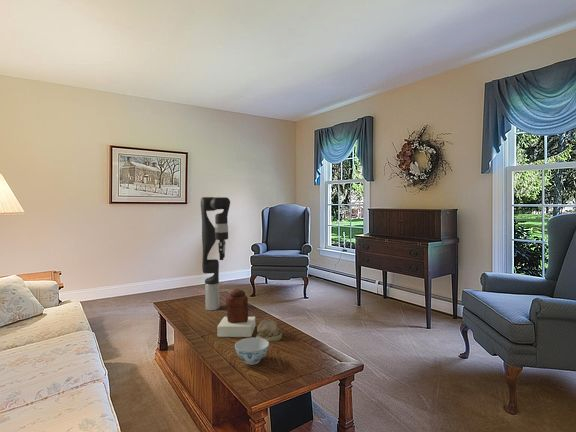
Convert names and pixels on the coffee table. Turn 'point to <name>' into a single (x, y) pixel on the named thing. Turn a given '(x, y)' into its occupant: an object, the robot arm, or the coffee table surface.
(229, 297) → the wooden figurine
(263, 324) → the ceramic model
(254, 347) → the chinaware
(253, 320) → the cream white square block
